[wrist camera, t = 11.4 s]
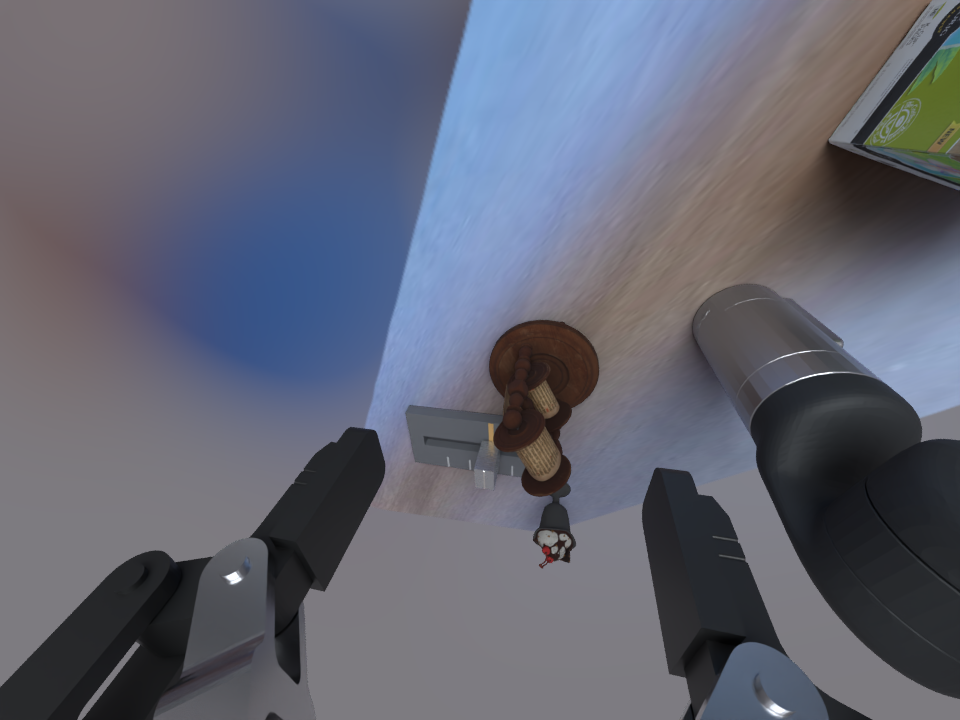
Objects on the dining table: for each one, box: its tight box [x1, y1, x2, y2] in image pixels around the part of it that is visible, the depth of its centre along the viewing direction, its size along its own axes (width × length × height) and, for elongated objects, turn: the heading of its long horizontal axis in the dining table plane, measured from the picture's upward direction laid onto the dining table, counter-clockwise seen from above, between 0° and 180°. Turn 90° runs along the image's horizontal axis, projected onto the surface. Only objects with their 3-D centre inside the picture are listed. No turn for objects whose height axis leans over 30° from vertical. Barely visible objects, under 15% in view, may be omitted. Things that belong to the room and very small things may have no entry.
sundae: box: [533, 483, 576, 568], centre depth 59 cm, size 7×7×15 cm
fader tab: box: [474, 440, 500, 491], centre depth 58 cm, size 3×4×8 cm
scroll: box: [489, 320, 599, 497], centre depth 43 cm, size 15×15×20 cm
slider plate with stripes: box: [405, 405, 525, 477], centre depth 61 cm, size 22×12×2 cm, turn 92°
